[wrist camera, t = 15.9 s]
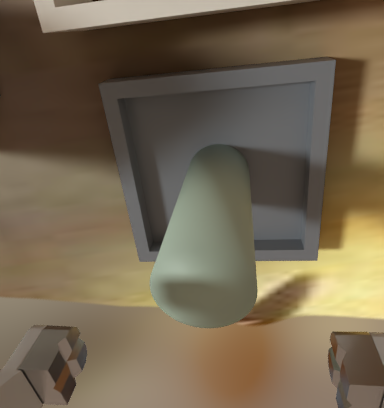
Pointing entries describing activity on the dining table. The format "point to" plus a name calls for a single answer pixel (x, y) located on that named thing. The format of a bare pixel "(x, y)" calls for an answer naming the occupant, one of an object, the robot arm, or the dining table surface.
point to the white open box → (134, 11)
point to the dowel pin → (209, 244)
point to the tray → (232, 136)
